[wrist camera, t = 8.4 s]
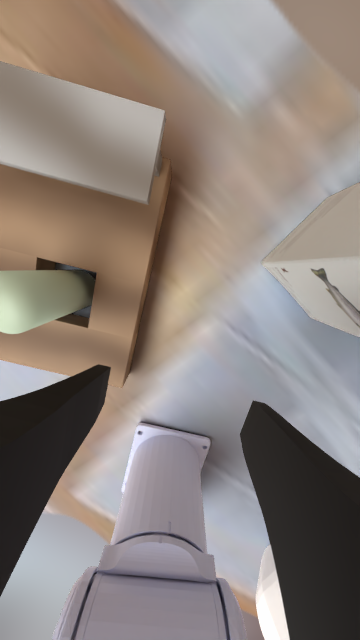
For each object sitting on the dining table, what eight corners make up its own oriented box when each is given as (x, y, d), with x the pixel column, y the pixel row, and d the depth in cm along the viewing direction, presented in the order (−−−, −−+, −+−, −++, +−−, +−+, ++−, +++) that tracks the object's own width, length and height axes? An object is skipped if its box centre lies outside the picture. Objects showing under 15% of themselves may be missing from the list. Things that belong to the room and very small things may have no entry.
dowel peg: (94, 311, 19) (35, 340, 12) (58, 302, 19) (-27, 325, 11) (100, 275, 19) (41, 280, 11) (63, 265, 18) (-25, 263, 11)
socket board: (128, 374, 21) (103, 425, 14) (7, 345, 20) (-82, 384, 13) (172, 175, 17) (164, 110, 10) (20, 132, 16) (-99, 31, 9)
